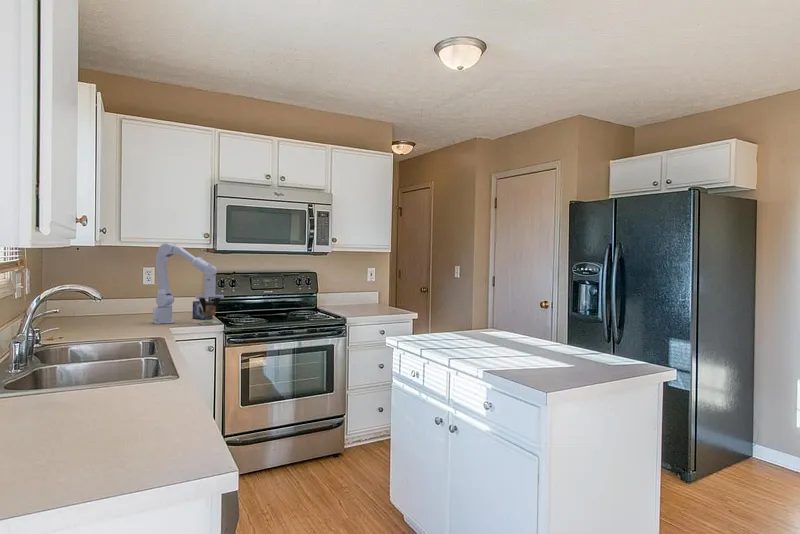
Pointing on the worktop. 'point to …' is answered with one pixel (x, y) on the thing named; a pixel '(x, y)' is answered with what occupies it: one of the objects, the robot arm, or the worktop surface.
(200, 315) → the small box
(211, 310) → the walnut cube
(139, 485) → the worktop surface
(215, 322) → the plate
